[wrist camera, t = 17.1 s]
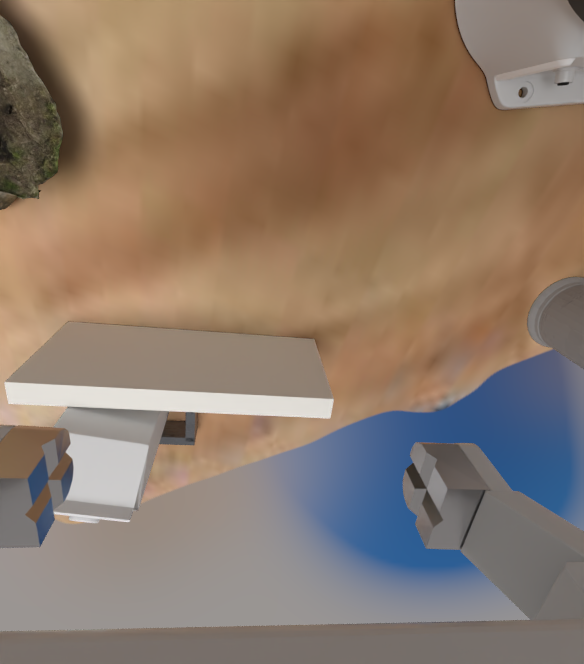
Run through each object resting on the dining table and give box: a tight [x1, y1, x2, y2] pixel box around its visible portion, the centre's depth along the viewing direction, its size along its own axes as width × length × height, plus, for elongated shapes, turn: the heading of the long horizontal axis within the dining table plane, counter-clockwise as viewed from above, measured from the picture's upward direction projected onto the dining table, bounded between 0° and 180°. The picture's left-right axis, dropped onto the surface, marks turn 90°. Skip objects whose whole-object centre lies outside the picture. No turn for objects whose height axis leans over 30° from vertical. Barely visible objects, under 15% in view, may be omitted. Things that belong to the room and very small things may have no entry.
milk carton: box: [53, 407, 169, 523], centre depth 37 cm, size 7×7×19 cm
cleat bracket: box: [159, 412, 198, 445], centre depth 45 cm, size 13×10×3 cm
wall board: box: [4, 321, 334, 418], centre depth 39 cm, size 26×2×12 cm, turn 83°
